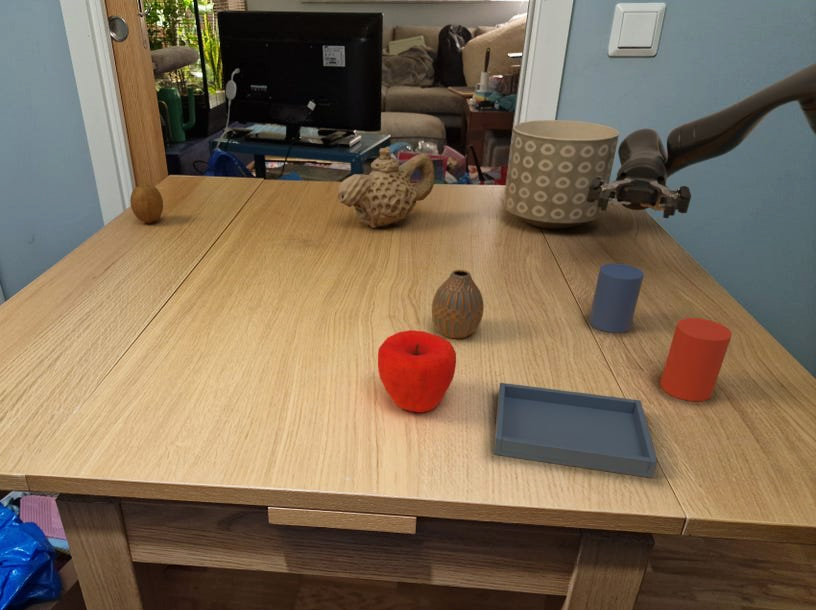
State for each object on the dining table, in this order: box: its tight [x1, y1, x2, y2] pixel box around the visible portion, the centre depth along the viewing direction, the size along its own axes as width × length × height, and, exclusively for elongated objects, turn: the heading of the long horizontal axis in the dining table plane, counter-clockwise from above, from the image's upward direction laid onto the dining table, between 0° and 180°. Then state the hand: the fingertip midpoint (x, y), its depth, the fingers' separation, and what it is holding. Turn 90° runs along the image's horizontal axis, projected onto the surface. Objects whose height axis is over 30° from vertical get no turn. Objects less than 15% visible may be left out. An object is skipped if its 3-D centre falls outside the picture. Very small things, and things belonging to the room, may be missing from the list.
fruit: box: [129, 182, 164, 225], centre depth 131 cm, size 6×6×8 cm
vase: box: [431, 269, 485, 339], centre depth 89 cm, size 7×7×9 cm
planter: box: [503, 119, 620, 230], centre depth 129 cm, size 19×19×18 cm
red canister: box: [659, 317, 733, 402], centre depth 77 cm, size 6×6×8 cm
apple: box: [377, 329, 457, 413], centre depth 74 cm, size 9×9×8 cm
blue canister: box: [588, 263, 645, 334], centre depth 92 cm, size 6×6×8 cm
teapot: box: [337, 146, 436, 229], centre depth 129 cm, size 21×12×15 cm, turn 118°
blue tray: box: [493, 382, 658, 479], centre depth 70 cm, size 15×11×2 cm
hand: (635, 207), depth 96 cm, fingers open, 8 cm apart
